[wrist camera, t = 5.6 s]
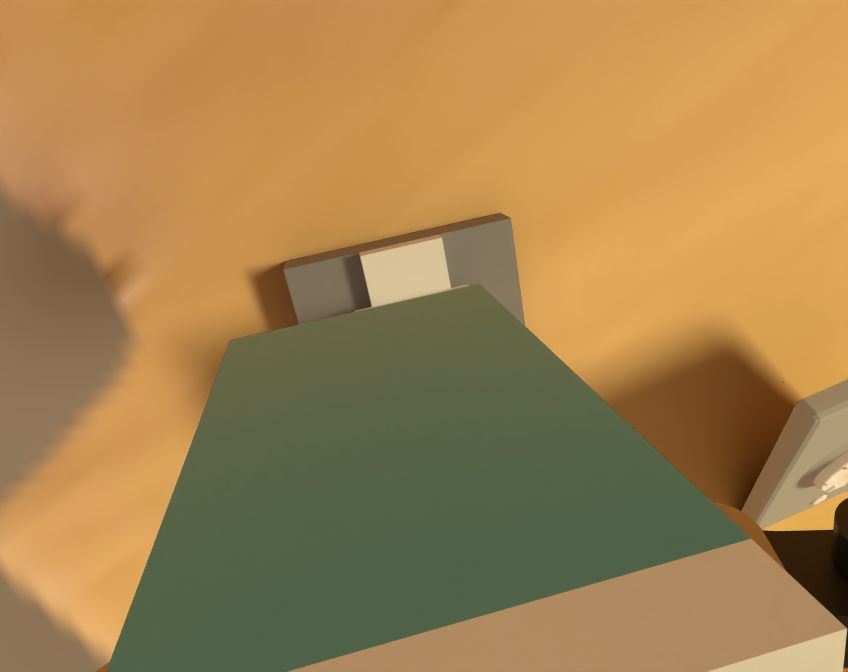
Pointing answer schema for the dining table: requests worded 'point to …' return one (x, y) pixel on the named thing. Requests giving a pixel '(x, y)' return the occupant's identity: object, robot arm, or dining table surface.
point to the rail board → (408, 269)
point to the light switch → (804, 459)
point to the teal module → (446, 519)
